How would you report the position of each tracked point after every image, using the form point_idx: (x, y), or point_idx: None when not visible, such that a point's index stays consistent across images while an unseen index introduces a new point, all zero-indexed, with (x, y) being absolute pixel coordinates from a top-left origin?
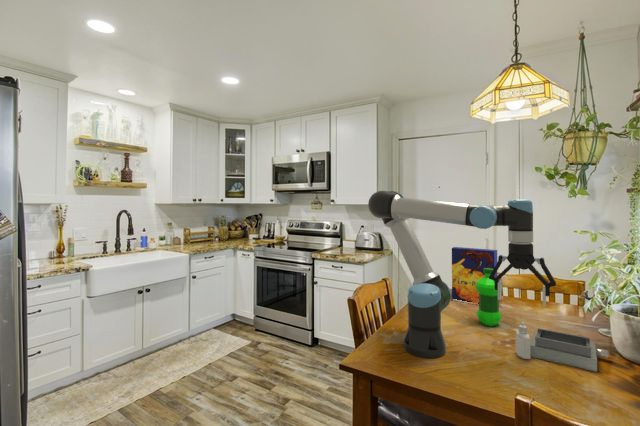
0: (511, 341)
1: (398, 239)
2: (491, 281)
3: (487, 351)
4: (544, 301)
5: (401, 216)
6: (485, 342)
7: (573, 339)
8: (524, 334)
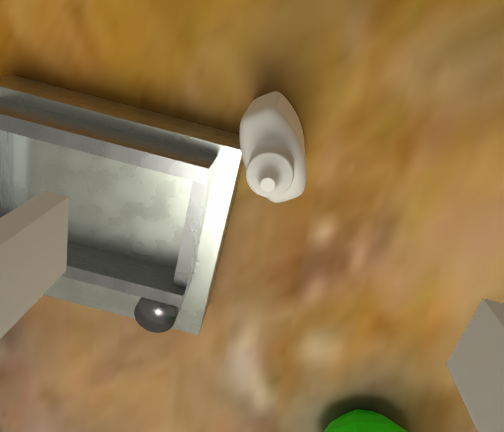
0: (300, 277)
1: None
2: None
3: (438, 122)
4: (18, 214)
5: None
6: (422, 230)
7: None
8: (267, 138)
